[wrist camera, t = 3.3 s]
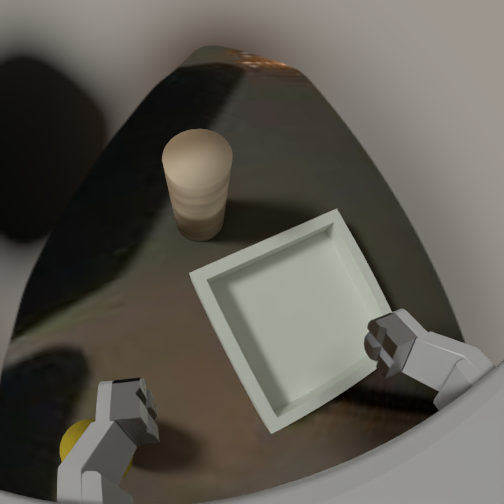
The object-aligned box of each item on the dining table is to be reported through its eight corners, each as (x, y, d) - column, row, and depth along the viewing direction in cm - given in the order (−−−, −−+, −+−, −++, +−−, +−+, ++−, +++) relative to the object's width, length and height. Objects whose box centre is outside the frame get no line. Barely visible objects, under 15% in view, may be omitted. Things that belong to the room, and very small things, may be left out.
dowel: (231, 230, 27) (244, 170, 18) (187, 249, 26) (176, 195, 17) (212, 191, 28) (215, 121, 19) (169, 208, 27) (153, 142, 17)
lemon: (131, 407, 21) (99, 431, 14) (149, 463, 20) (128, 504, 12) (77, 411, 20) (33, 431, 12) (95, 465, 19) (60, 499, 11)
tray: (389, 346, 26) (407, 344, 23) (264, 424, 22) (271, 433, 19) (325, 221, 29) (336, 208, 26) (191, 281, 25) (189, 273, 22)
